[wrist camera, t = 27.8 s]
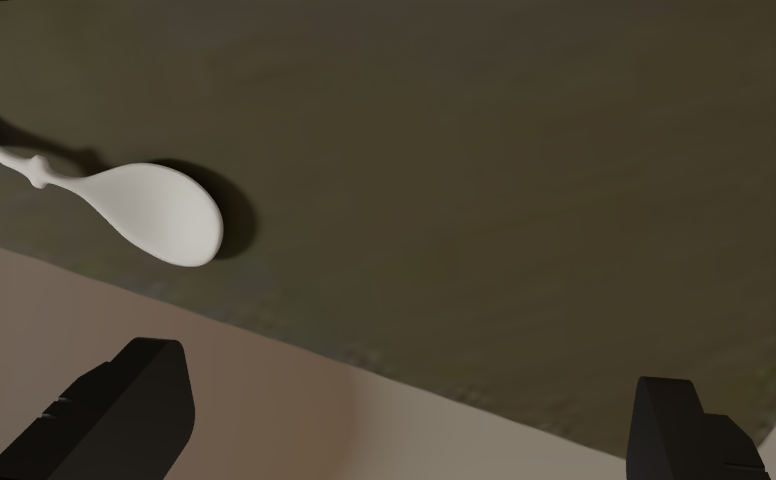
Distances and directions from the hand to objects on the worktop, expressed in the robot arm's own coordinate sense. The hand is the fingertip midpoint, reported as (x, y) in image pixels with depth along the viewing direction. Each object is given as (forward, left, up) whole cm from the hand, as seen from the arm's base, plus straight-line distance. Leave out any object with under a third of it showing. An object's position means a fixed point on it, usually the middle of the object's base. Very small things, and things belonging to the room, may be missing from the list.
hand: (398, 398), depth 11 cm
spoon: (-37, -9, -41) cm, 56 cm away
